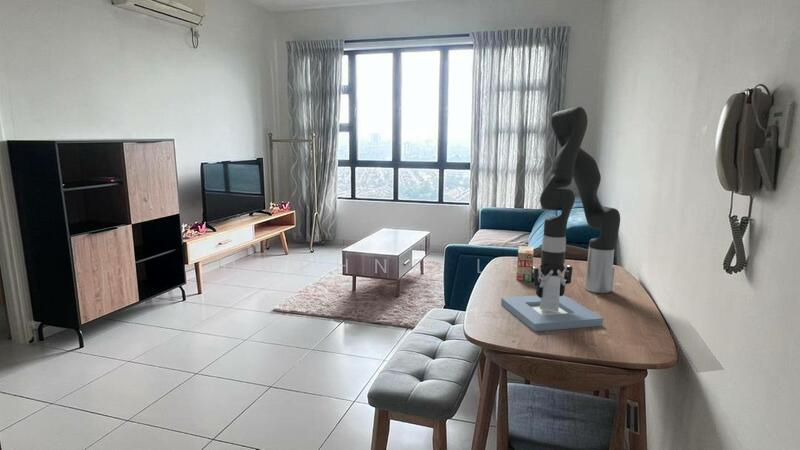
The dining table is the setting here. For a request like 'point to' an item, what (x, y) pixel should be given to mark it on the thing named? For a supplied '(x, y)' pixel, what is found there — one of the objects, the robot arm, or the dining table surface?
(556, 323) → the base board
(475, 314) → the dining table surface
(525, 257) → the stack of blocks
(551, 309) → the skincare box
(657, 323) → the dining table surface
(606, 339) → the dining table surface
